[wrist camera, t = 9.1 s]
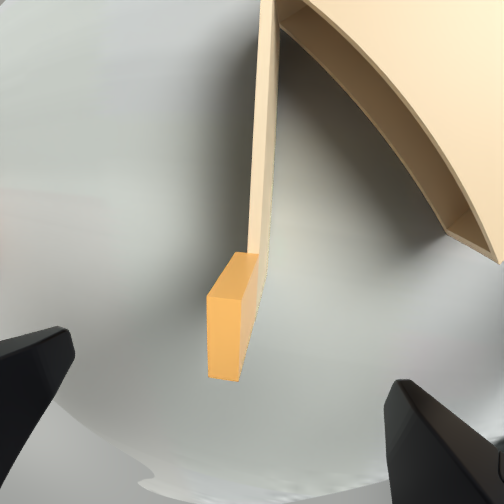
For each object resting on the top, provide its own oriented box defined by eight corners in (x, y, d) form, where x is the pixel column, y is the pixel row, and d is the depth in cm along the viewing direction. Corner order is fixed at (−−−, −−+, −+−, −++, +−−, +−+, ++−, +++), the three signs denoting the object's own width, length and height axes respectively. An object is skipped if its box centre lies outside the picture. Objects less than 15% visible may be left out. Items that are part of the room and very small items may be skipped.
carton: (553, 121, 13) (603, 120, 7) (446, 234, 17) (499, 264, 11) (419, -54, 11) (443, -95, 4) (273, 21, 15) (263, -33, 9)
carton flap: (267, 274, 19) (238, 386, 9) (251, 272, 20) (208, 381, 9) (280, 32, 15) (262, -80, 5) (263, 32, 15) (231, -78, 5)
